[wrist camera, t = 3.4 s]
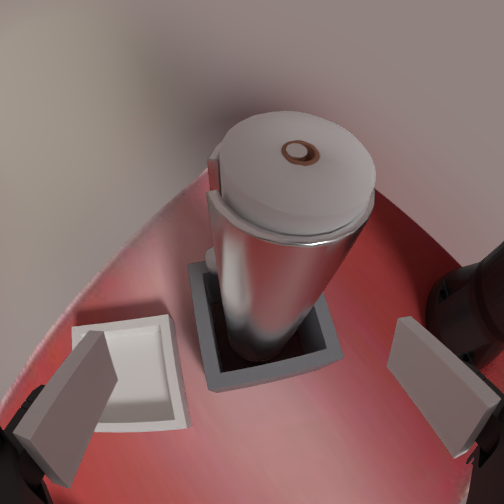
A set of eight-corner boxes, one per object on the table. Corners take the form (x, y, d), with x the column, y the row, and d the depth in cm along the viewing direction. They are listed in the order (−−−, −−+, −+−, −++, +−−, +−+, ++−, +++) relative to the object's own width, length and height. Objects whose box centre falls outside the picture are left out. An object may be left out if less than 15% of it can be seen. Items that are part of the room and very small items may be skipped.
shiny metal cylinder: (243, 297, 33) (251, 90, 11) (295, 319, 32) (392, 137, 10) (217, 346, 30) (161, 180, 8) (272, 371, 29) (368, 262, 7)
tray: (174, 322, 31) (168, 314, 28) (192, 425, 25) (187, 428, 23) (83, 333, 29) (71, 326, 27) (93, 430, 24) (80, 431, 21)
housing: (292, 275, 35) (308, 230, 26) (319, 369, 29) (350, 354, 21) (198, 292, 33) (184, 251, 25) (216, 392, 27) (205, 388, 19)
